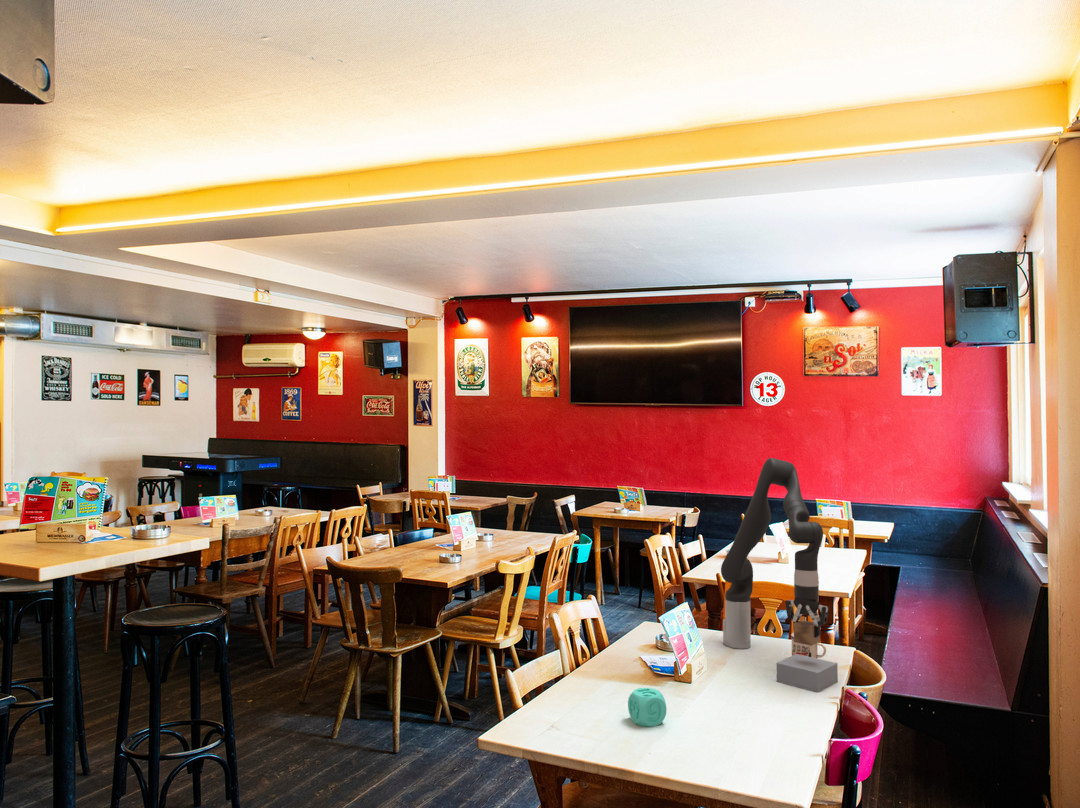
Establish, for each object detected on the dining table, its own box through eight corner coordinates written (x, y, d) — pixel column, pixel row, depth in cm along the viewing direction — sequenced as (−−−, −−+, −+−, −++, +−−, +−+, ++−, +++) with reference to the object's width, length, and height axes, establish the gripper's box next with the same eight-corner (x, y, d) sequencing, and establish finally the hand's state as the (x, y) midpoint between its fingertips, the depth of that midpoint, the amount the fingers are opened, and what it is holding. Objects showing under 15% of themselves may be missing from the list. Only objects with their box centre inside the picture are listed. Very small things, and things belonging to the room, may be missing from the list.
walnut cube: (793, 641, 240) (793, 623, 240) (802, 638, 244) (802, 620, 245) (811, 645, 236) (811, 626, 236) (820, 642, 240) (819, 623, 240)
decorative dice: (652, 714, 211) (652, 686, 212) (666, 724, 204) (666, 695, 204) (627, 718, 209) (627, 689, 209) (641, 728, 201) (641, 699, 201)
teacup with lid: (787, 662, 260) (787, 628, 261) (796, 656, 267) (795, 623, 268) (822, 668, 253) (821, 634, 253) (830, 662, 260) (829, 629, 260)
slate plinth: (776, 681, 240) (776, 662, 240) (796, 671, 250) (796, 653, 250) (818, 692, 230) (818, 672, 230) (837, 681, 240) (837, 663, 240)
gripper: (780, 581, 243) (780, 633, 243) (822, 588, 233) (823, 642, 233) (791, 578, 249) (791, 629, 248) (833, 584, 238) (833, 637, 238)
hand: (807, 635), depth 240 cm, fingers closed on walnut cube, 6 cm apart
